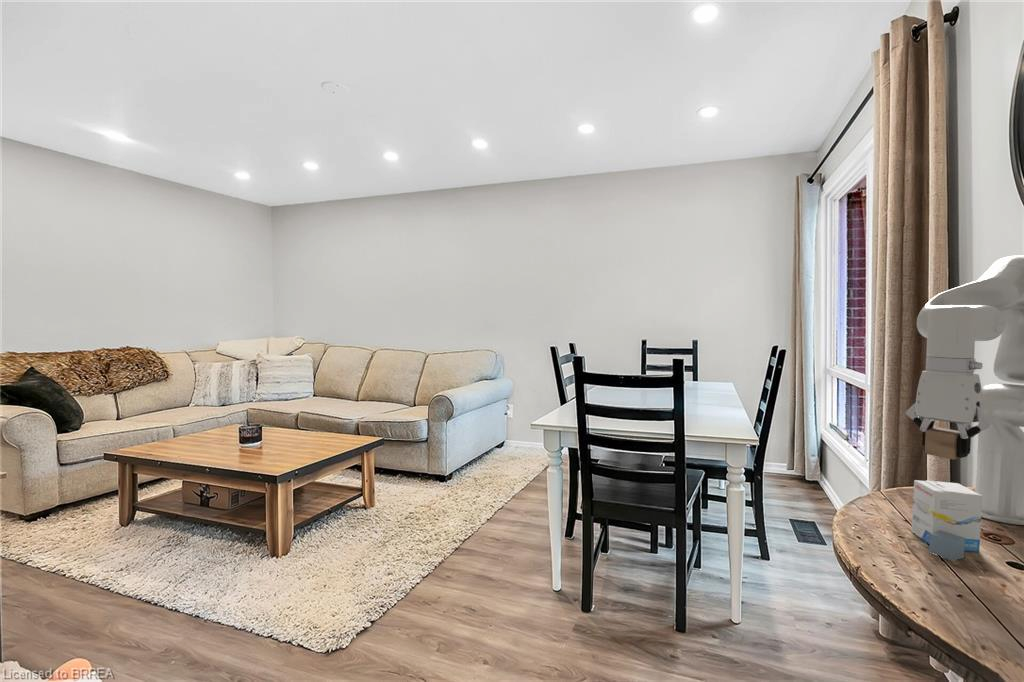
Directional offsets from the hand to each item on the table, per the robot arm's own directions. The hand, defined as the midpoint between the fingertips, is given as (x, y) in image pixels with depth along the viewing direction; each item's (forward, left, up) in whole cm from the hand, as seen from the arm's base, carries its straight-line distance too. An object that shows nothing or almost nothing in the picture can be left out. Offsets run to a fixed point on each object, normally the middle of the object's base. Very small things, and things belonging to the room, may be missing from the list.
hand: (945, 452), depth 108 cm
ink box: (-1, 0, -19) cm, 19 cm away
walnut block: (0, 0, -1) cm, 1 cm away
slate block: (+6, +4, -19) cm, 20 cm away
